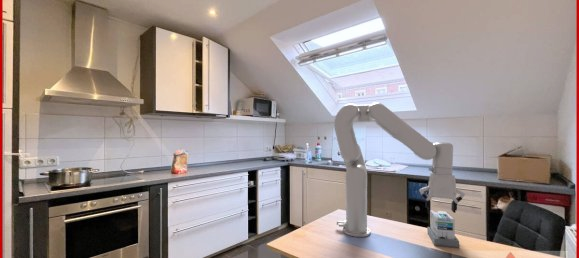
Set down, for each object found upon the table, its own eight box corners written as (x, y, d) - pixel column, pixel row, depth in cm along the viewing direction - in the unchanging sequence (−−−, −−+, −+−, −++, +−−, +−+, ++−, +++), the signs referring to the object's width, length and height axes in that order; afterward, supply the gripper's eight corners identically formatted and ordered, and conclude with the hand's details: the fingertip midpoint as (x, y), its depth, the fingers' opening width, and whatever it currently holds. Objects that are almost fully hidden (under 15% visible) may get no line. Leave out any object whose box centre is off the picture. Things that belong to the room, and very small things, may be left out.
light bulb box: (455, 245, 108) (455, 219, 108) (437, 243, 110) (437, 217, 110) (446, 234, 119) (446, 210, 119) (430, 233, 120) (430, 209, 120)
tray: (434, 245, 109) (434, 238, 109) (427, 233, 122) (427, 226, 122) (459, 248, 107) (459, 241, 107) (449, 235, 119) (449, 228, 119)
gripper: (421, 171, 113) (420, 210, 113) (468, 174, 108) (466, 215, 108) (418, 168, 120) (417, 205, 120) (462, 171, 115) (460, 210, 115)
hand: (440, 210), depth 114 cm, fingers open, 9 cm apart
